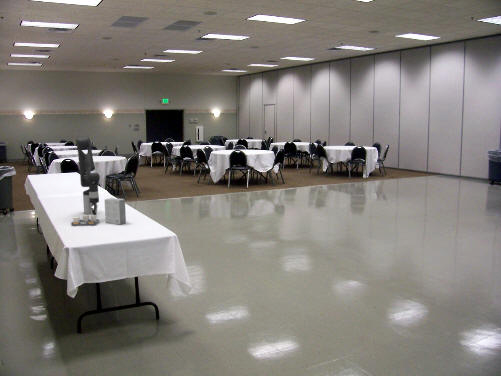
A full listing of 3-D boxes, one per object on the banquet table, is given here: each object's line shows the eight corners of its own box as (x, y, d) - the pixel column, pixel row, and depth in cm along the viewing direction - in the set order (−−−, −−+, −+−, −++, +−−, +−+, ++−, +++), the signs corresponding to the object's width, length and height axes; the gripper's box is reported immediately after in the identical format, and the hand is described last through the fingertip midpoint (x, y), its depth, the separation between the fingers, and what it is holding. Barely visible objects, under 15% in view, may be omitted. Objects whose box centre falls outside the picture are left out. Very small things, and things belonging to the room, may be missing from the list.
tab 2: (84, 220, 402) (83, 214, 402) (89, 220, 403) (88, 214, 402) (83, 221, 398) (82, 215, 398) (88, 221, 399) (87, 215, 398)
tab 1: (74, 222, 395) (74, 216, 395) (79, 222, 396) (79, 216, 395) (73, 223, 392) (73, 217, 391) (78, 223, 392) (78, 217, 391)
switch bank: (75, 222, 403) (75, 219, 403) (98, 222, 405) (98, 218, 404) (71, 226, 391) (71, 222, 390) (95, 225, 393) (95, 222, 392)
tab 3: (91, 220, 403) (91, 214, 402) (96, 220, 403) (96, 214, 403) (90, 221, 399) (90, 215, 398) (95, 221, 399) (95, 215, 399)
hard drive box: (126, 222, 402) (125, 199, 399) (120, 224, 396) (119, 200, 392) (111, 221, 409) (110, 197, 406) (105, 223, 402) (104, 199, 399)
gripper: (91, 195, 410) (92, 215, 412) (87, 198, 397) (88, 219, 399) (100, 195, 410) (101, 215, 413) (97, 198, 397) (98, 219, 400)
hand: (95, 217), depth 406 cm, fingers closed
